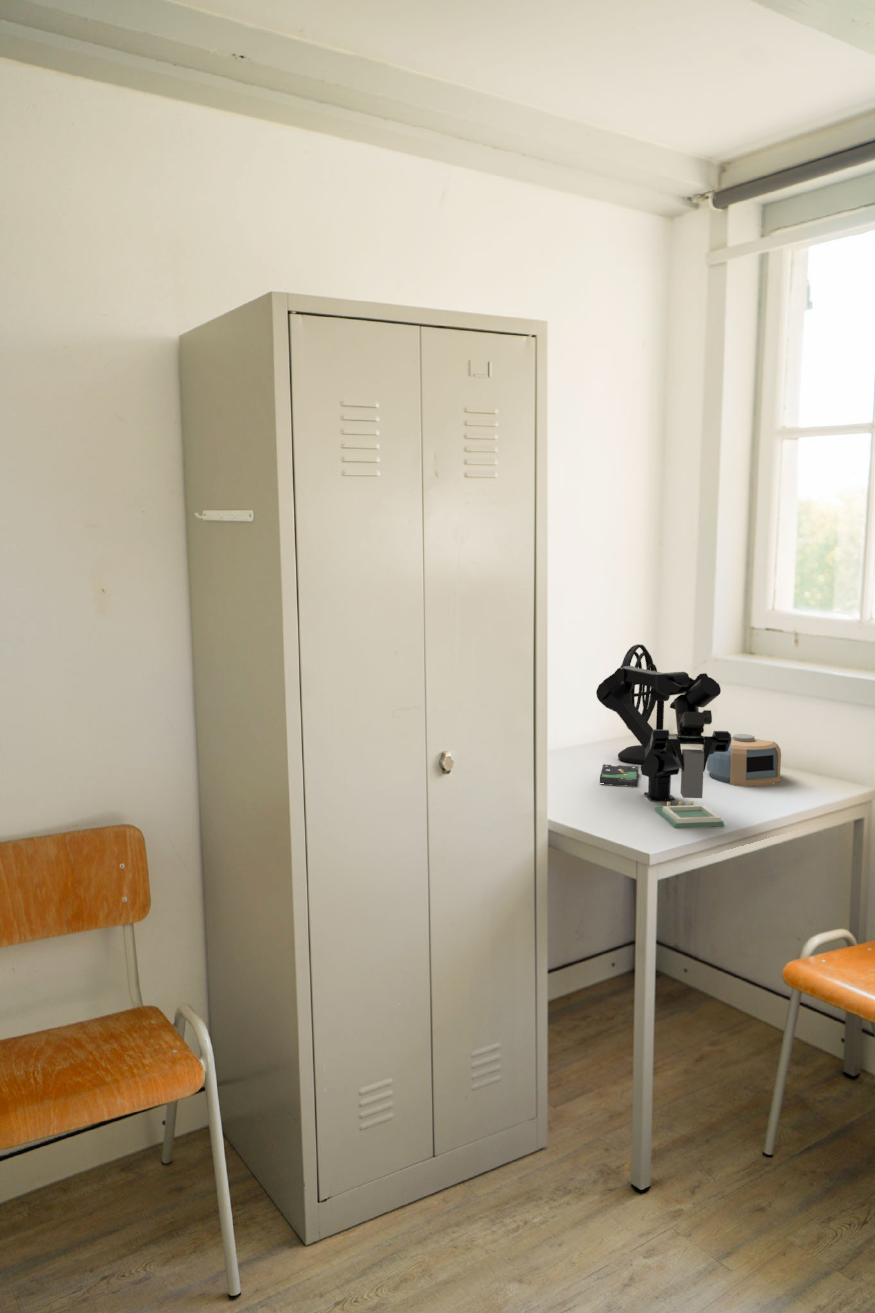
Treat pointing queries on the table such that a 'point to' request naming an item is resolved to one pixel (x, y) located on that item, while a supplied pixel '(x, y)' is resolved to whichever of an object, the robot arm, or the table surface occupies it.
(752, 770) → the alarm clock
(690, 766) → the block
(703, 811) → the green flat piece
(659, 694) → the desk fan
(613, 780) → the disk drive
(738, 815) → the table surface
